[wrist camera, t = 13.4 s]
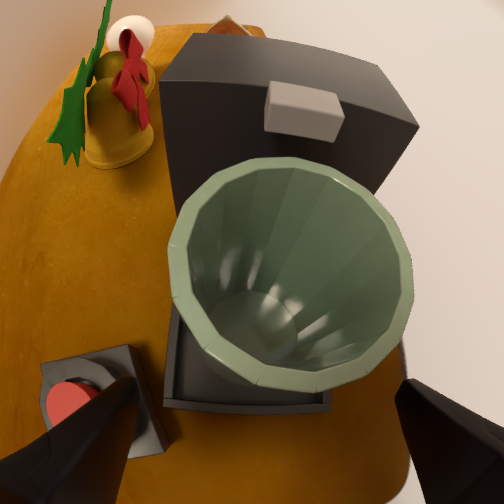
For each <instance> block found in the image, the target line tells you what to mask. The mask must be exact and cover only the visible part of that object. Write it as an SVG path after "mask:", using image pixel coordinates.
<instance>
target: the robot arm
mask: <svg viewBox="0 0 504 504" xmlns="http://www.w3.org/2000/svg"><path fill="white" fill-rule="evenodd" d="M139 402H140V393H139V389H138V383H137V379H136V378H135V377H133V376H128V375H123V376H121V377H120V378H118V379H117V380H116V381H114V382H113V383H112V384H110V385H109V386H108V387H107V388H105V389H104V390H103V391H101V392H100V393H99V394H97V395H96V396H95V397H93V398H92V399H91V400H89V401H88V402H87V403H85V404H84V405H83V406H81V407H80V408H79V409H77V410H76V411H75V412H73V413H72V414H71V415H69V416H68V417H67V418H65V419H64V420H63V421H61V422H60V423H58V424H57V425H56V426H54V427H53V428H52V429H50V430H49V433H48V432H46V433H45V434H43V435H42V436H41V437H39V438H38V439H36V440H35V441H33V442H32V443H30V444H29V445H27V446H25V447H24V448H22V449H20V450H18V451H17V452H15V453H13V454H11V455H9V456H7V457H5V458H3V459H1V460H0V504H115V502H116V498H117V494H118V490H119V487H120V483H121V479H122V476H123V472H124V468H125V465H126V462H127V458H128V455H129V451H130V448H131V444H132V441H133V435H134V430H135V424H136V418H137V412H138V407H139ZM395 404H396V408H397V412H398V416H399V420H400V423H401V427H402V431H403V435H404V438H405V440H406V443H407V446H408V449H409V452H410V455H411V458H412V461H413V463H414V466H415V469H416V473H417V476H418V479H419V482H420V485H421V488H422V492H423V495H424V499H425V502H426V504H504V427H501V426H499V425H497V424H495V423H493V422H491V421H489V420H487V419H486V418H482V416H480V415H478V414H476V413H474V412H472V411H471V410H469V409H467V408H465V407H464V406H461V405H460V404H458V403H456V402H454V401H453V400H451V399H449V398H447V397H446V396H444V395H442V394H440V393H438V392H437V391H435V390H433V389H431V388H430V387H428V386H426V385H424V384H423V383H421V382H419V381H418V380H416V379H413V378H412V379H406V380H404V381H403V382H402V384H401V386H400V388H399V389H398V391H397V393H396V395H395Z"/></svg>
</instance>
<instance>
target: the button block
mask: <svg viewBox="0 0 504 504" xmlns="http://www.w3.org/2000/svg"><path fill="white" fill-rule="evenodd" d="M40 366H41V371H42V376H43V380H42V385H41V391H40V398H39V404H40V407H41V411H42V415H43V418H44V421H45V425H46V427H47V429H48V431H49V430H50V429H52V428H53V427H54V426H53V425H52V423H51V421H50V419H49V416H48V413H47V407H46V401H47V396H48V393H49V391H50V390H51V388H52V387H53V386H54V385H56V384H57V383H60V382H75V383H84V384H87V385H89V386H91V387H93V388H94V389H96V390H97V391H98V392H99V393H100V392H101V391H103V390H104V389H105V388H107V387H108V386H109V385H110V384H112V383H113V382H114V381H116V380H117V379H118V378H120V377H121V376H123V375H128V376H133V377H135V378H136V379H137V383H138V389H139V393H140V402H139V407H138V412H137V418H136V424H135V430H134V435H133V441H132V444H131V448H130V451H129V455H128V458H127V459H132V458H139V457H145V456H151V455H156V454H162V453H165V452H166V450H167V449H168V448H169V447H170V443H169V440H168V438H167V435H166V433H165V431H164V428H163V425H162V423H161V420H160V418H159V415H158V412H157V410H156V407H155V404H154V401H153V398H152V395H151V392H150V390H149V386H148V383H147V380H146V377H145V374H144V371H143V367H142V364H141V361H140V357H139V353H138V350H137V348H135V347H133V346H131V345H129V344H124V345H121V346H117V347H113V348H108V349H104V350H100V351H96V352H92V353H87V354H83V355H79V356H74V357H70V358H65V359H60V360H55V361H51V362H46V363H41V364H40Z"/></svg>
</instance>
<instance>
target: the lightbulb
mask: <svg viewBox="0 0 504 504" xmlns="http://www.w3.org/2000/svg"><path fill="white" fill-rule="evenodd" d="M124 29H131V30H132V31H133V33H134V34H135V36H136V37H137V39H138V40H139V42H140V43H141V45H142V46H143V48H144V51H143V54H142V56H141V57H142V58H144V59H145V54H146V52H147V51H148V49H149V48H150V46H151V44H152V42H153V40H154V37H155V29H154V26H153V24H152V22H151V21H150V20H148V19H147V18H146V17H144V16H140V15H130V16H126V17H123V18H121V19H119V20H118V21H117V22H115V23H114V24H113V25H112V27H111V28H110V29H109V31H108V34H107V37H106V44H107V47H108V49H109V51H110V52H111V51H120V48H119V36H120V33H121V32H122V31H123V30H124Z"/></svg>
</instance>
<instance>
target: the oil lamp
mask: <svg viewBox="0 0 504 504" xmlns="http://www.w3.org/2000/svg"><path fill="white" fill-rule="evenodd" d="M247 29H248V28H247V27H245V26H242V25H240V24H238V23H237V22H236V21H234V20H233V19H232V18H231V17H230V16H228V15H227V16H225V17H224V18H223V19H221V20H219V21H218V22H216V23H214V24H213V25H212V26H211V27H210V28H209V29H208V30H207V32H206V33H218V34H234V35H246V36H255V35H254V34H250V33H249V32H248V31H247ZM255 37H256V36H255Z"/></svg>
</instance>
